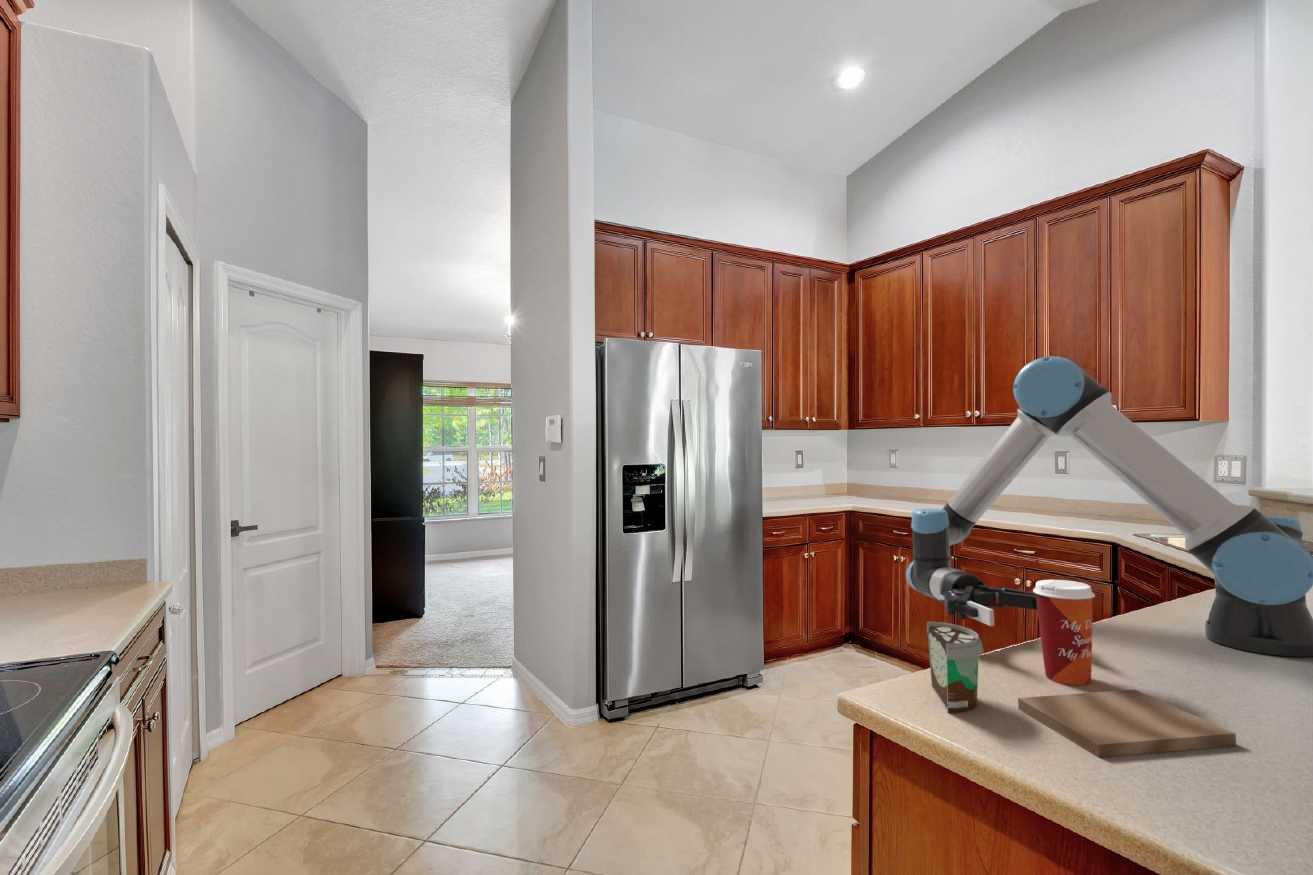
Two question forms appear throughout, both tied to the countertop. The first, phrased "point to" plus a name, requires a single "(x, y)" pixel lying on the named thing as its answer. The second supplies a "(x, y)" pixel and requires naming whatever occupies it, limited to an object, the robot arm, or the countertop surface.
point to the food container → (954, 665)
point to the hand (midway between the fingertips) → (1029, 615)
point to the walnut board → (1124, 723)
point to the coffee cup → (1065, 630)
